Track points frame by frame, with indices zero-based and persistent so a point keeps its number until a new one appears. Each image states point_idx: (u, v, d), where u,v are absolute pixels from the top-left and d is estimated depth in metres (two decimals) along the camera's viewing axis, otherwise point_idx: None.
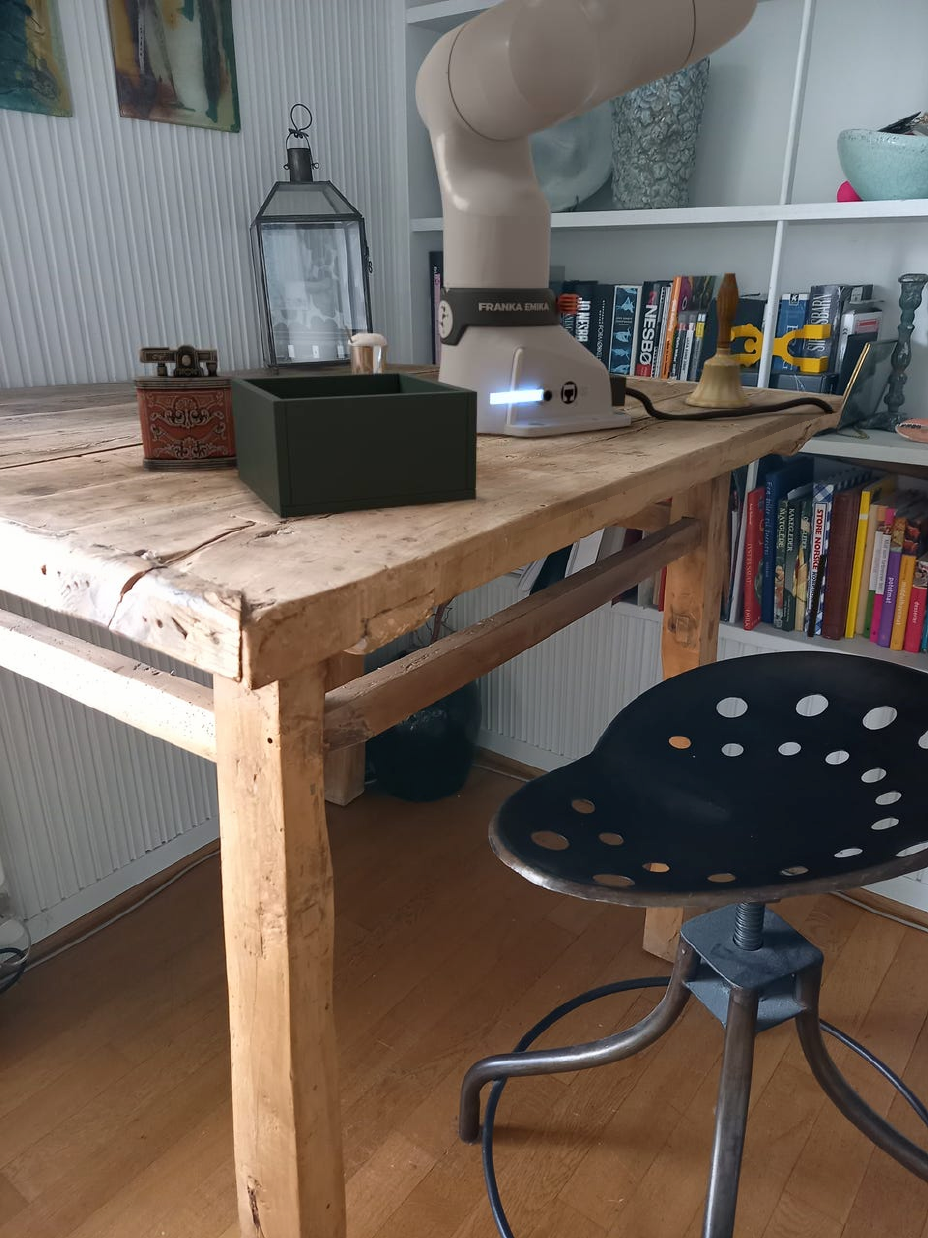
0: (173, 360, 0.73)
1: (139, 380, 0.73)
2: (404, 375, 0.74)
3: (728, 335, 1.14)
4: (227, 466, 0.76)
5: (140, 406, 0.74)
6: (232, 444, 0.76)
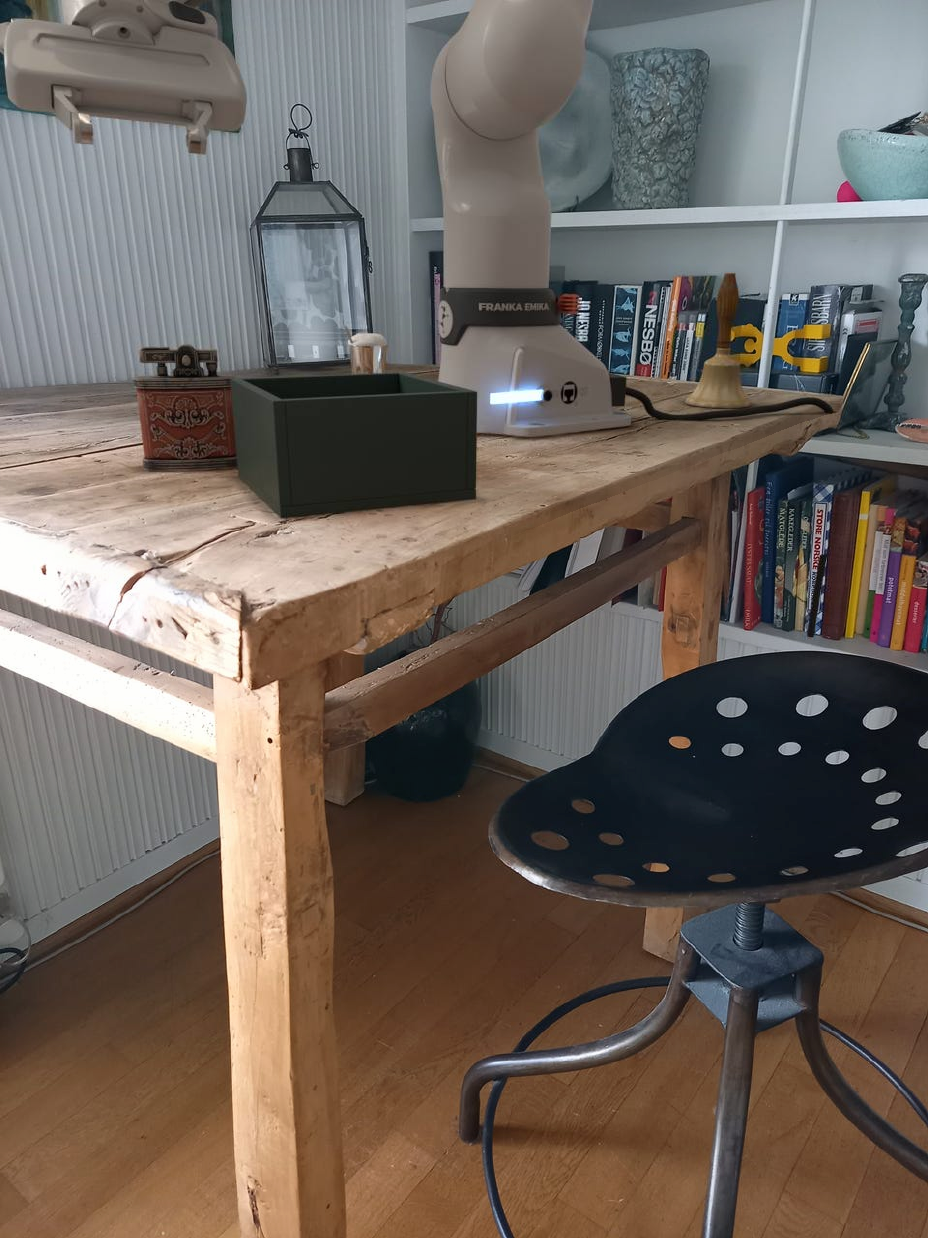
0: (173, 360, 0.73)
1: (139, 380, 0.73)
2: (404, 375, 0.74)
3: (728, 335, 1.14)
4: (227, 466, 0.76)
5: (140, 406, 0.74)
6: (232, 444, 0.76)
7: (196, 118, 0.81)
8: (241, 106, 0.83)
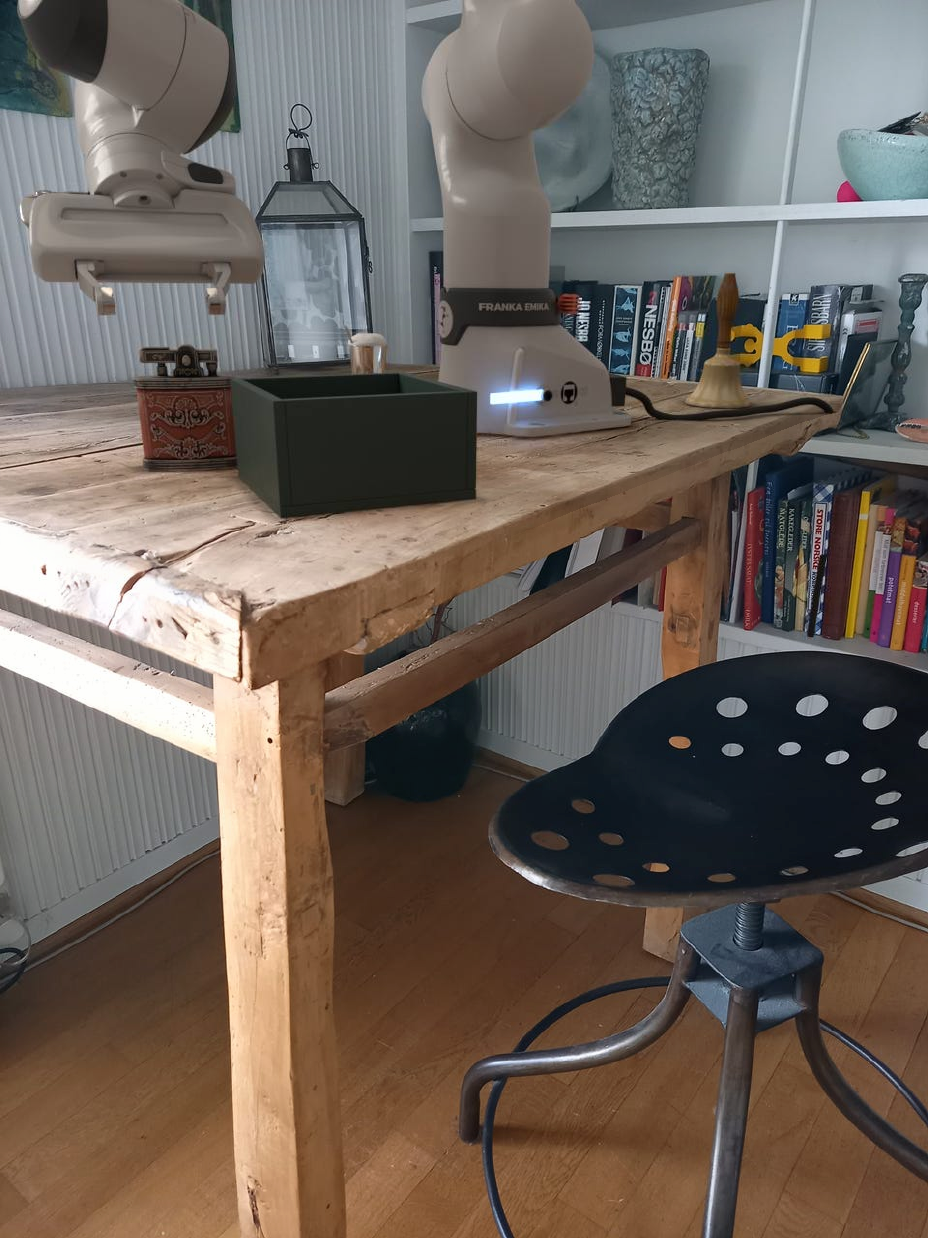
0: (173, 360, 0.73)
1: (139, 380, 0.73)
2: (404, 375, 0.74)
3: (728, 335, 1.14)
4: (227, 466, 0.76)
5: (140, 406, 0.74)
6: (232, 444, 0.76)
7: (215, 278, 0.83)
8: (259, 263, 0.84)
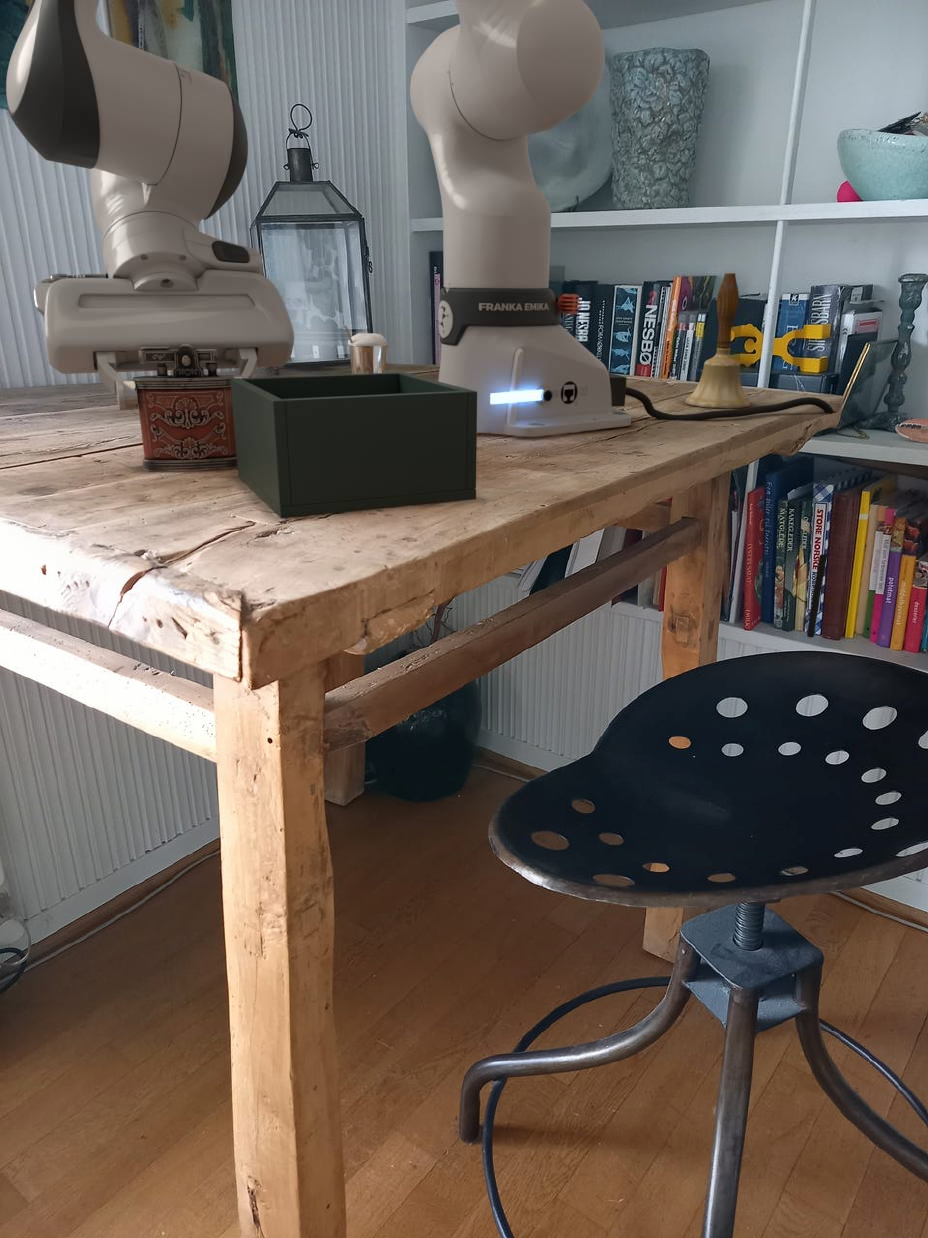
0: (173, 360, 0.73)
1: (139, 380, 0.73)
2: (404, 375, 0.74)
3: (728, 335, 1.14)
4: (227, 466, 0.76)
5: (140, 406, 0.74)
6: (232, 444, 0.76)
7: (240, 365, 0.78)
8: (289, 347, 0.79)
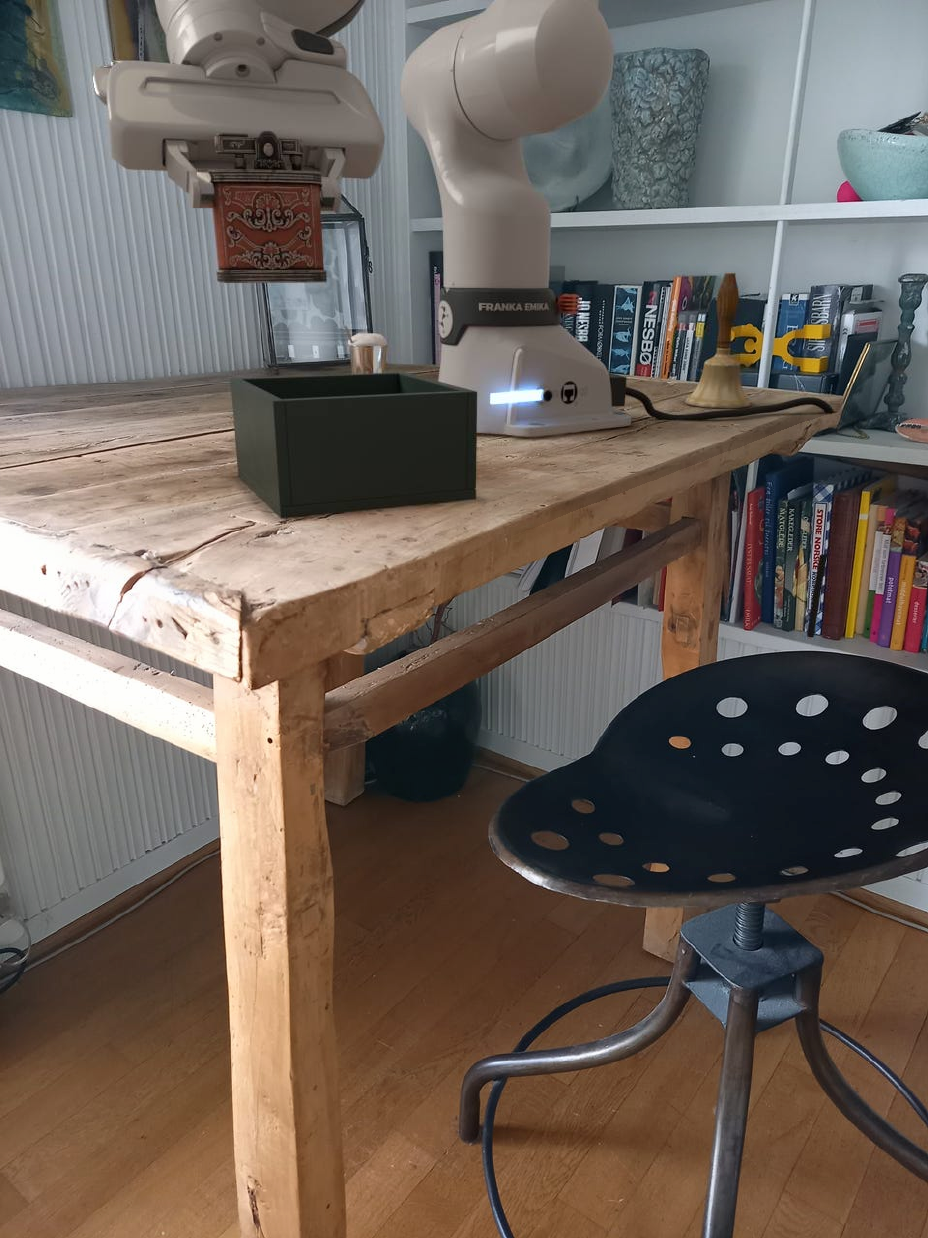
0: (253, 149, 0.64)
1: (215, 171, 0.63)
2: (404, 375, 0.74)
3: (728, 335, 1.14)
4: (312, 280, 0.67)
5: (215, 204, 0.64)
6: (318, 254, 0.67)
7: (326, 168, 0.68)
8: (379, 150, 0.70)
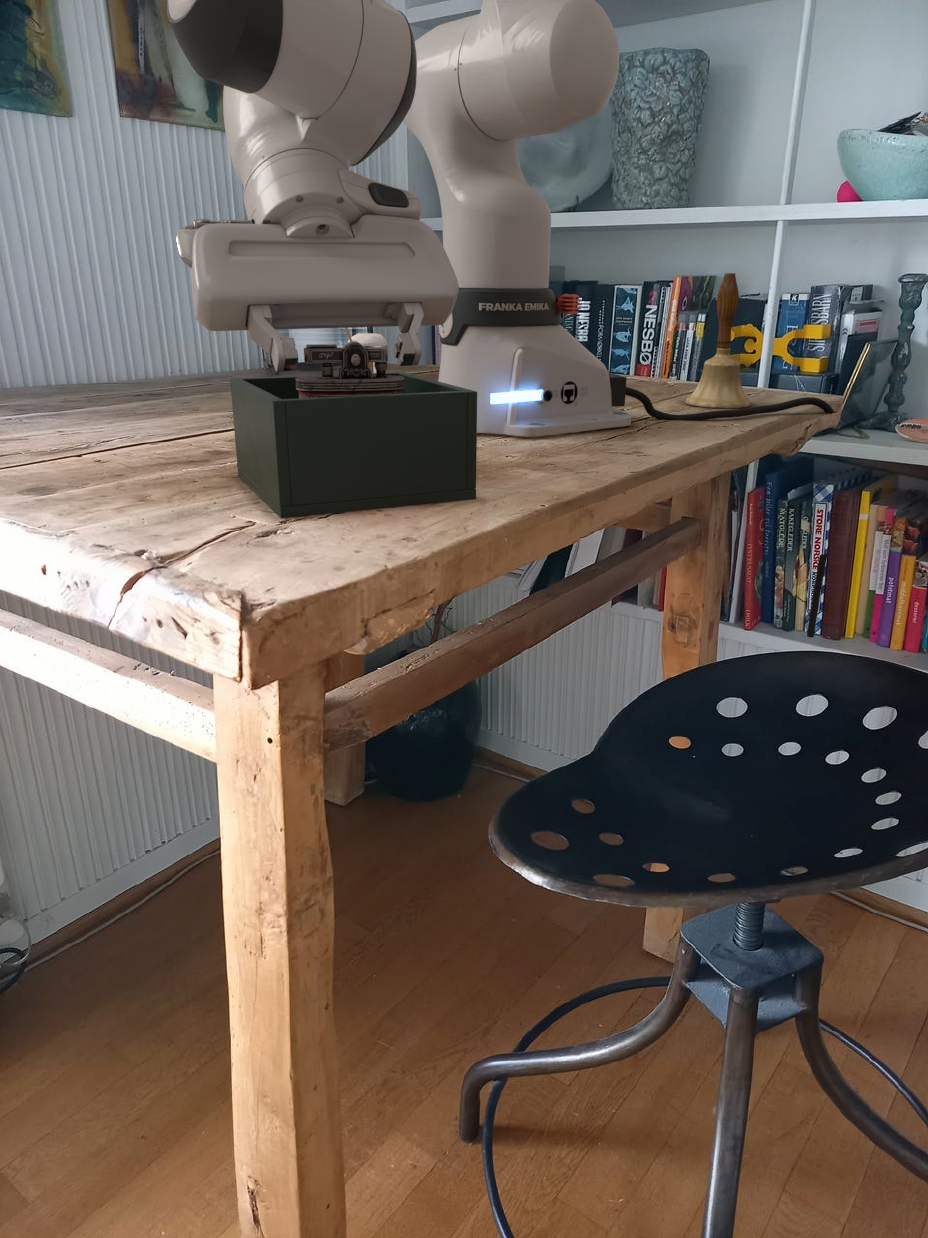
0: (341, 359, 0.66)
1: (304, 381, 0.65)
2: (404, 375, 0.74)
3: (728, 335, 1.14)
4: None
5: None
6: None
7: (404, 322, 0.69)
8: (453, 301, 0.71)
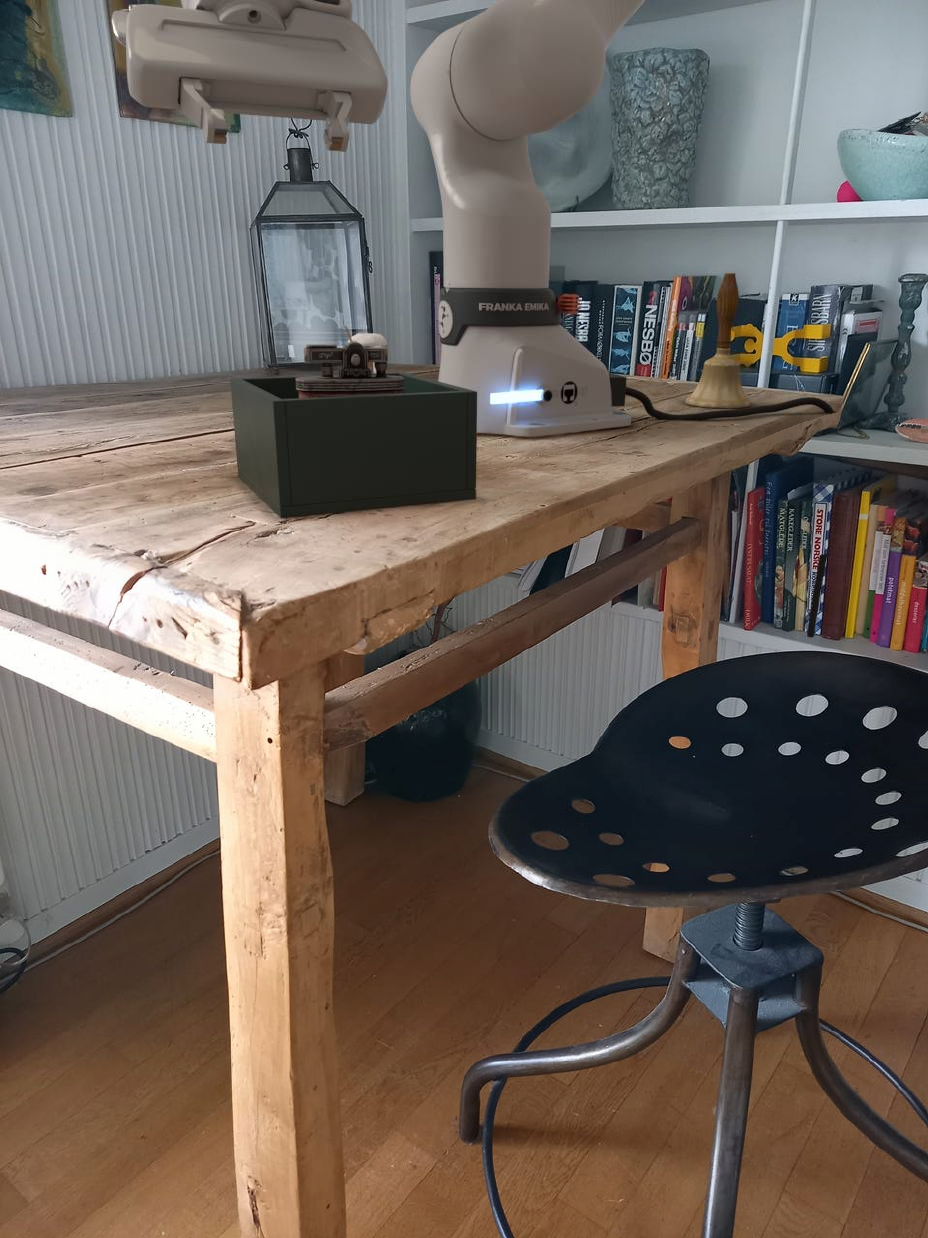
0: (341, 359, 0.66)
1: (304, 381, 0.66)
2: (404, 375, 0.74)
3: (728, 335, 1.14)
4: None
5: None
6: None
7: (334, 111, 0.72)
8: (382, 96, 0.73)
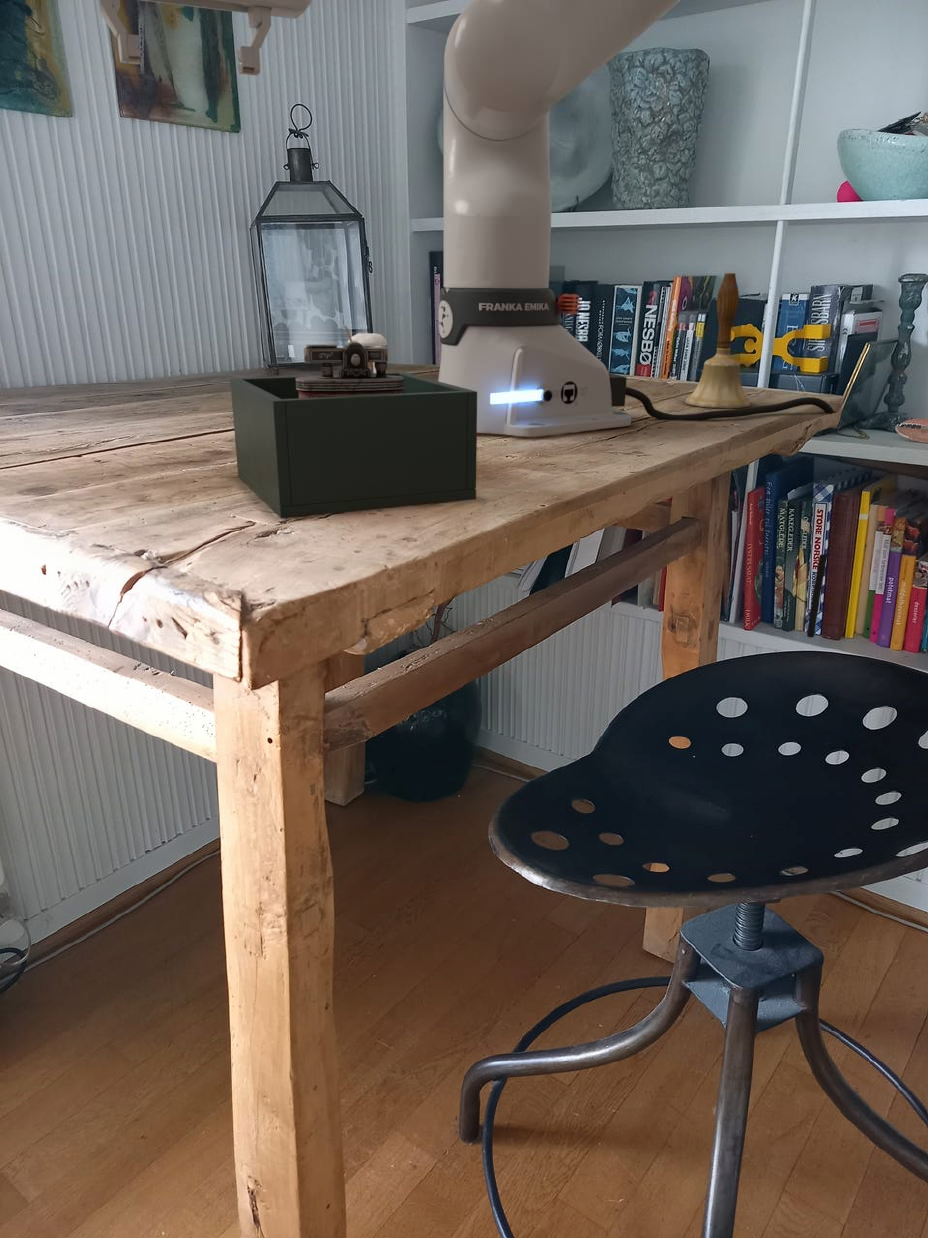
0: (341, 359, 0.66)
1: (304, 381, 0.66)
2: (404, 375, 0.74)
3: (728, 335, 1.14)
4: None
5: None
6: None
7: (252, 23, 0.74)
8: (304, 10, 0.75)
